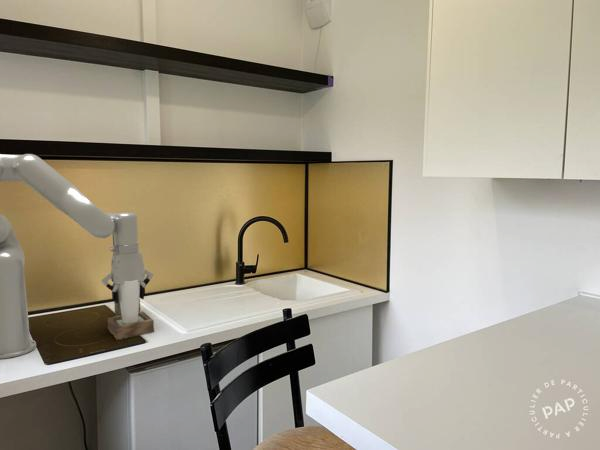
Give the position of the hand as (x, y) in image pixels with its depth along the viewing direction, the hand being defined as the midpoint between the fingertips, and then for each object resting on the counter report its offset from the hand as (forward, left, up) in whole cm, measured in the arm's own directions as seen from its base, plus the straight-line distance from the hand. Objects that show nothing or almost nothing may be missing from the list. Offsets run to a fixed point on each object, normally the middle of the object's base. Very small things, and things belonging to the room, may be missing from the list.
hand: (129, 300), depth 150 cm
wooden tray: (0, 0, -11) cm, 11 cm away
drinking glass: (0, 0, -8) cm, 8 cm away
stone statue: (+3, +15, -11) cm, 19 cm away
